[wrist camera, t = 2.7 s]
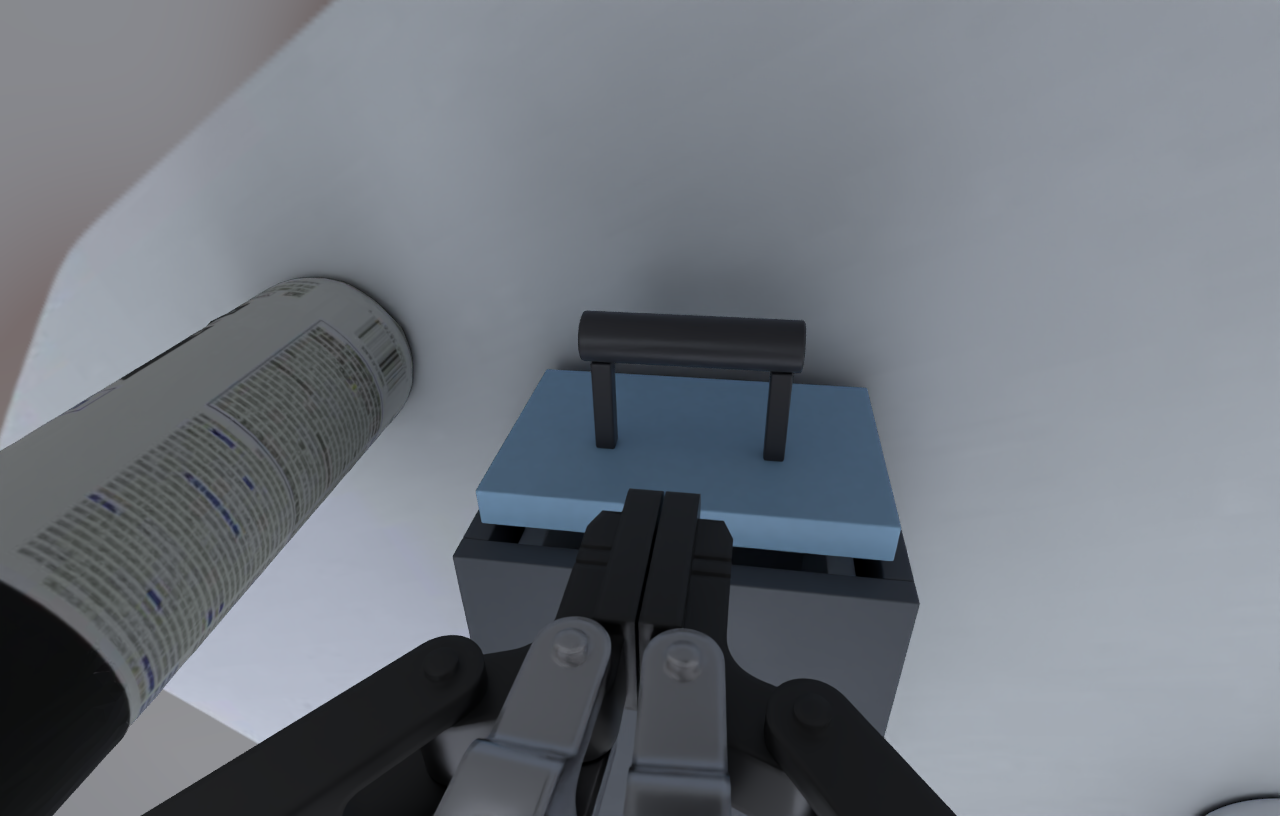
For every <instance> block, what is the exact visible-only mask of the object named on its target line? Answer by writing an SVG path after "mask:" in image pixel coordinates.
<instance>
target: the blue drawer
mask: <svg viewBox="0 0 1280 816" xmlns="http://www.w3.org/2000/svg"><path fill="white" fill-rule="evenodd" d="M805 346H806V323H805V321H803V320H783V319H761V318H739V317H716V316H694V315H672V314H650V313H628V312H605V311H584V312H583V314H582V316H581V319H580V324H579V332H578V347H579V353H580V357H581V359H582V360H583V361H592V362H591V372H587V371H569V370H552V369H547V370H546V371H545V373H544V375H543V377H542V378H541V380H540V382H539V383H538V385H537V387H536V389H535V390H534V392H533V394H532V395H531V397H530V399H529V401H528V402H527V404H526V406H525V407H524V409H523V411H522V413H521V414H520V416H519V418H518V419H517V421H516V423H515V424H514V426H513V428H512V430H511V431H510V433H509V435H508V436H507V438H506V440H505V442H504V443H503V445H502V447H501V448H500V450H499V452H498V454H497V455H496V457H495V459H494V460H493V462H492V464H491V466H490V467H489V469H488V471H487V472H486V474H485V476H484V478H483V479H482V481H481V483H480V484H479V486H478V488H477V490H476V495H477V500H478V506H479V511H480V517H481V522H482V523H487V524H498V525H509V526H520V527H526V528H525V530H524V532H523V534H522V536H521V539H520V541H519V543H518V544H527V545H538V546H548V547H558V548H568V549H579V548H580V547H581V542H582V539H583V536H584V533H585V530H586V528H587V525H588V524H589V523H590V522H591V521H592V520H593V519H594V518H595V517H596V516H597V515H598V514H599V513H600V512H601V511H602V510H605V511H616V512H622V510H623V507H624V503H625V500H626V496H627V493H628V490H629V488H633V489H645V490H657V491H664V495H665V493H666V491H671V492H684V493H696V494H701V513H700V519H710V520H721V521H724V522H725V524H726V526H727V528H728V530H729V532H730V534H731V536H732V538H733V549H732V564H733V565H743V566H754V567H764V568H774V569H784V570H795V571H805V572H815V573H826V574H836V575H846V576H856V573H855V566H854V560H853V558H862V559H873V560H884V561H893V560H894V557H895V553H896V548H897V544H898V540H899V535H900V531H901V525H900V521H899V517H898V513H897V509H896V504H895V500H894V496H893V492H892V488H891V484H890V480H889V476H888V472H887V468H886V464H885V460H884V456H883V452H882V448H881V443H880V439H879V435H878V431H877V427H876V423H875V419H874V415H873V411H872V407H871V403H870V399H869V395H868V391H867V388H861V387H844V386H827V385H810V384H793V373H801V372H802V369H803V365H804V357H805ZM615 363H628V364H646V365H664V366H682V367H699V368H717V369H735V370H753V371H770V380H769V382H758V381H741V380H724V379H707V378H690V377H672V376H655V375H638V374H621V373H615Z"/></svg>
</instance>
